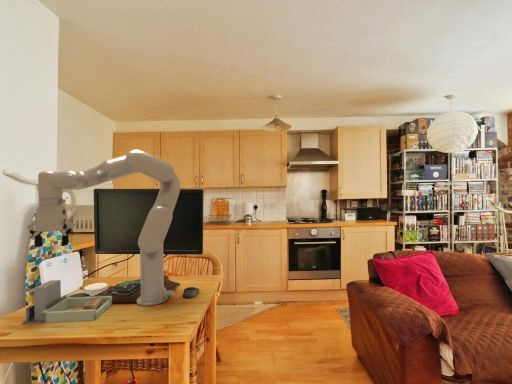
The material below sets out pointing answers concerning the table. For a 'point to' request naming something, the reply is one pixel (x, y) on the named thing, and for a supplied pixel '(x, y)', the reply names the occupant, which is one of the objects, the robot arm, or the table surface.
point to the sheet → (45, 296)
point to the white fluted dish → (95, 288)
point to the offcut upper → (92, 304)
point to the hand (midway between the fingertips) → (52, 246)
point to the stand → (31, 312)
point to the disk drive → (126, 287)
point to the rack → (60, 315)
